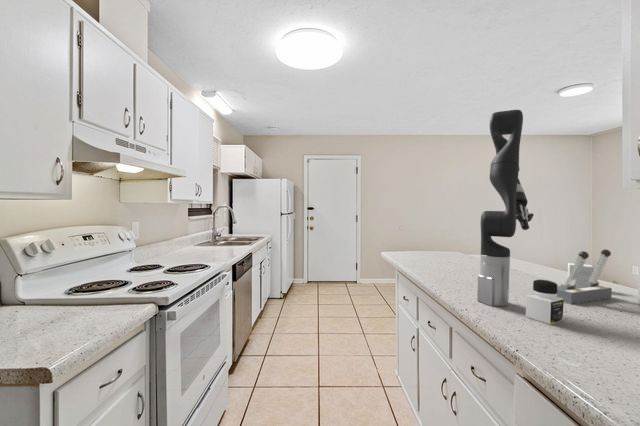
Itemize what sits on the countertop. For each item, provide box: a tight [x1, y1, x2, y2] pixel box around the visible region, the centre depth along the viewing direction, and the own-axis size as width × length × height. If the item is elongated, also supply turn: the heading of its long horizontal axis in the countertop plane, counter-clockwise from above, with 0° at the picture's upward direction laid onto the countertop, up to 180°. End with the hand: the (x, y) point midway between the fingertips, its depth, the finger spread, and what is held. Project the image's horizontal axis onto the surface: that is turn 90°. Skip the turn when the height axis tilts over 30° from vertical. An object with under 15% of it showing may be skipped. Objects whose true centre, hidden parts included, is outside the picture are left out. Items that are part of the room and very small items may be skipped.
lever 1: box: [564, 250, 590, 289], centre depth 113 cm, size 3×3×16 cm
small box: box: [566, 262, 595, 284], centre depth 131 cm, size 8×6×10 cm
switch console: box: [556, 281, 613, 305], centre depth 117 cm, size 24×8×6 cm, turn 110°
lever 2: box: [588, 249, 612, 286], centre depth 118 cm, size 3×3×16 cm
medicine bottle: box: [525, 279, 564, 326], centre depth 94 cm, size 7×7×12 cm
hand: (525, 228), depth 124 cm, fingers closed
